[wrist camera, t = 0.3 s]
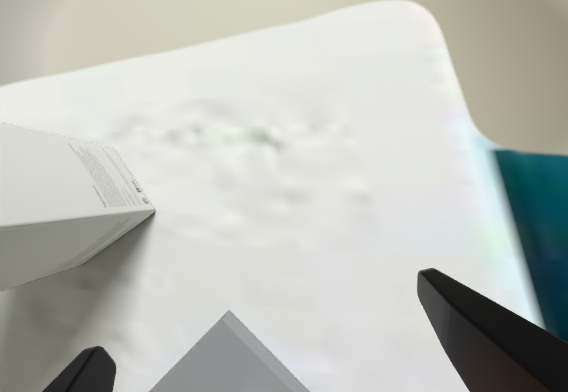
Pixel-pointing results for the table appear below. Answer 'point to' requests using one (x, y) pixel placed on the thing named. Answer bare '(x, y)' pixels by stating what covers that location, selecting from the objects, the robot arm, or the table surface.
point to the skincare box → (60, 202)
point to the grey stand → (229, 364)
